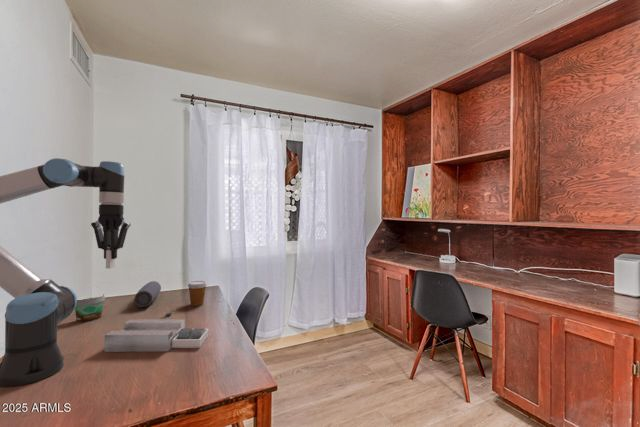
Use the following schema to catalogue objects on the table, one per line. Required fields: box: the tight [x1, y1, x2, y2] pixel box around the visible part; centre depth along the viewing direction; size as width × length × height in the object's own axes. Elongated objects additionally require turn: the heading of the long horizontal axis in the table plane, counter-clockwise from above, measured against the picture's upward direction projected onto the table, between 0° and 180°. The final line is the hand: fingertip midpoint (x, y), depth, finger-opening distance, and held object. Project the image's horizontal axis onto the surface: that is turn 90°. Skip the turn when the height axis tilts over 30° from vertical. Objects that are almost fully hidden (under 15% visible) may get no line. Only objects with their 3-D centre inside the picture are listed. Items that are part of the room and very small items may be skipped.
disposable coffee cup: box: [187, 280, 208, 307], centre depth 166 cm, size 10×10×12 cm
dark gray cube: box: [178, 327, 193, 340], centre depth 118 cm, size 4×4×4 cm
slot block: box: [104, 318, 186, 353], centre depth 117 cm, size 16×22×6 cm
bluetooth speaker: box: [134, 280, 162, 308], centre depth 167 cm, size 23×9×10 cm, turn 17°
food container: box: [74, 294, 106, 323], centre depth 140 cm, size 12×6×10 cm, turn 143°
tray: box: [171, 328, 210, 349], centre depth 119 cm, size 11×10×3 cm
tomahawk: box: [158, 312, 172, 319], centre depth 138 cm, size 21×7×1 cm, turn 166°
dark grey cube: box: [191, 328, 206, 339], centre depth 119 cm, size 4×4×4 cm
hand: (110, 267), depth 113 cm, fingers closed
